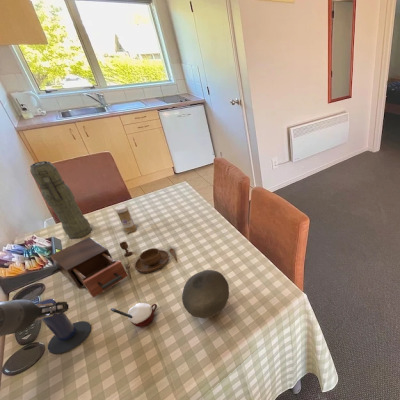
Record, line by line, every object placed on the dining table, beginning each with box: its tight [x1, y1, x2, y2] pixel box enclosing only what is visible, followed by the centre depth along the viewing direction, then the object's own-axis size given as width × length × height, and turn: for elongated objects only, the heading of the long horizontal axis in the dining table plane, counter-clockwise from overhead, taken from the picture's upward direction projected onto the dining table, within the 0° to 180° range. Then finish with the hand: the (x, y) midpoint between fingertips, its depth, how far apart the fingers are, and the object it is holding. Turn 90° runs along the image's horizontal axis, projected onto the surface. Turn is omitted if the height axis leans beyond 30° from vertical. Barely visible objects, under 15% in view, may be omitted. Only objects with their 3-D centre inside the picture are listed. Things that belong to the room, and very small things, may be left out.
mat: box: [47, 320, 92, 355], centre depth 79 cm, size 10×10×1 cm
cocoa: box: [110, 302, 158, 328], centre depth 80 cm, size 10×6×12 cm, turn 128°
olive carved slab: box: [29, 160, 93, 240], centre depth 115 cm, size 9×12×35 cm
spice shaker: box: [38, 298, 77, 341], centre depth 75 cm, size 4×4×13 cm
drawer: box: [71, 253, 129, 298], centre depth 95 cm, size 18×11×7 cm, turn 59°
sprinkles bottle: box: [114, 204, 137, 234], centre depth 121 cm, size 5×5×13 cm
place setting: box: [119, 241, 178, 279], centre depth 107 cm, size 18×20×6 cm
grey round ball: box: [181, 269, 230, 319], centre depth 83 cm, size 14×14×15 cm
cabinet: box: [49, 236, 113, 290], centre depth 101 cm, size 15×13×9 cm
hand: (55, 309), depth 76 cm, fingers closed on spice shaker, 4 cm apart
